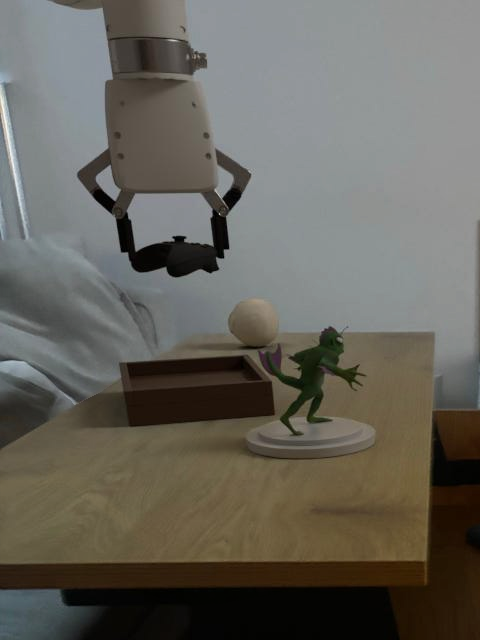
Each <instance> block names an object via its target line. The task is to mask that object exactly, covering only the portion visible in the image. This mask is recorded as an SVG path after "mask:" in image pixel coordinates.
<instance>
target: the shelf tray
mask: <svg viewBox="0 0 480 640" xmlns="http://www.w3.org/2000/svg"><path fill="white" fill-rule="evenodd" d="M118 365H119V372H120V378H121V384H122V390H123V397H124V402H125V409H126V415H127V420H128V426H129V427H139V426H152V425H153V426H154V425H165V424H166V425H167V424H176V423H178V424H179V423H189V422H201V421H212V420H213V421H214V420H227V419H239V418H250V417H251V418H252V417H264V416H275V415H276V410H275V401H274V400H275V398H274V388H273V387H274V386H273V382H272V379H271V378H270V377H269V376H268V375H267V374H266V373H265V372H264V371H263V369H262V368H261V367H260V366H259V365H258V364H257V363H256V361H255V360H254V359H253V358H252V357H251V356H250V355H249V354H237V355H236V354H235V355H220V356H219V355H218V356H205V357H203V356H202V357H190V358H189V357H186V358H171V359H155V360H137V361H136V360H135V361H127V362H126V361H122V362H118Z"/></svg>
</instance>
